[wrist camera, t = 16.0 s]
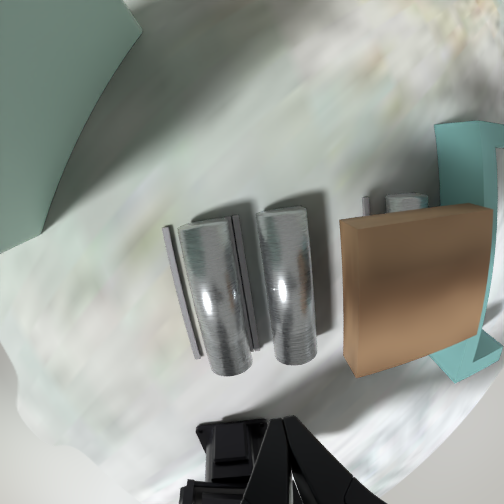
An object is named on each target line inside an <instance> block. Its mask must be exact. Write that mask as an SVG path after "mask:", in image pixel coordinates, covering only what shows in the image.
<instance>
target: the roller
mask: <svg viewBox="0 0 504 504" xmlns="http://www.w3.org/2000/svg"><path fill="white" fill-rule="evenodd" d="M423 208H428V196H427V195H424V194H418V193H400V194H389V195H386V213H392V212H399V211H407V210H415V209H423Z"/></svg>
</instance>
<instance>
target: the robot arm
mask: <svg viewBox="0 0 504 504" xmlns="http://www.w3.org/2000/svg"><path fill="white" fill-rule="evenodd" d="M196 434H197V436H198V438H199V440H200V442H201V445H202V447H203V449H204V451H205V453H206V472H205V482H203V481H194V480H190V479H188V481H187V485H186V486H185V487H182V488H181V489H180V500H179V504H387V503H385V502H384V501H382V500H381V499H380V498H378V497H377V496H376V495H374V494H373V493H372V492H370V491H369V490H368V489H367V488H366V487H365V486H363V485H362V484H361V483H360V482H359V481H358V480H357V479H356V478H355V477H353V475H352V474H351V473H350V472H349V471H348V470H347V469H346V468H345V467H344V466H343V465H342V464H341V463H340V462H339V461H338V460H337V459H336V458H335V457H334V456H333V455H332V454H331V453H330V452H329V451H328V450H327V449H326V448H325V447H324V446H323V445H322V444H321V443H320V442H319V441H318V440H317V439H316V437H315V436H314V435H313V434H312V433H311V432H310V431H309V430H308V429H307V428H306V427H305V426H304V425H303V424H302V422H301V421H300V420H299V419H298V418H297V417H296V416H294V415H292V416H287V417H284V418H283V419H282V418H276V419H271V420H270V421H269V424H267V421H266V420H265V419H257V420H249V421H242V422H233V423H224V424H213V425H200V426H197V427H196ZM291 470H292V471H291ZM292 474H293V477H294V480H295V482H294V480H292ZM295 483H296V485H297V487H296V485H295ZM297 488H298V490H297ZM298 491H299V492H298ZM299 494H300V495H299ZM300 496H301V497H300ZM301 499H302V500H301Z"/></svg>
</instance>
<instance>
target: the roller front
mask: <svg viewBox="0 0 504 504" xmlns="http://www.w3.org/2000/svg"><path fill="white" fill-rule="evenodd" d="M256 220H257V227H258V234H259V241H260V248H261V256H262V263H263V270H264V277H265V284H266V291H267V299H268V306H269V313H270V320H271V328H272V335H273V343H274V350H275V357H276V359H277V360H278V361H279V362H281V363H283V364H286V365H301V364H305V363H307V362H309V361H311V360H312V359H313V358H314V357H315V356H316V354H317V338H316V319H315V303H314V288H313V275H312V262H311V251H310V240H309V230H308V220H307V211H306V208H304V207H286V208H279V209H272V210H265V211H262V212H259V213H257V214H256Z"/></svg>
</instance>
